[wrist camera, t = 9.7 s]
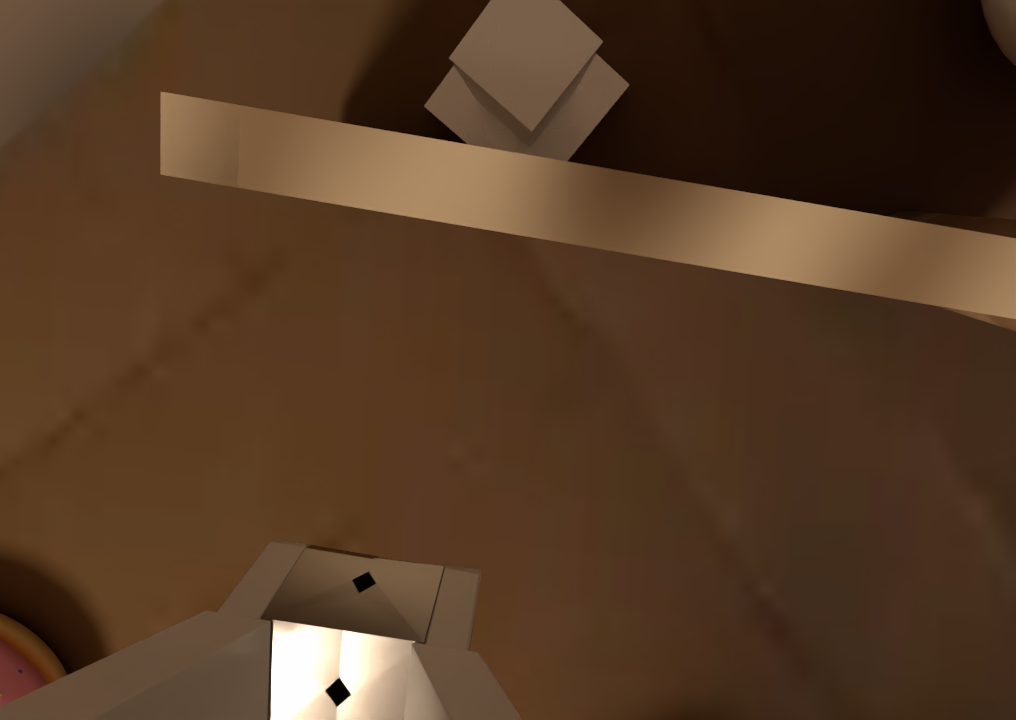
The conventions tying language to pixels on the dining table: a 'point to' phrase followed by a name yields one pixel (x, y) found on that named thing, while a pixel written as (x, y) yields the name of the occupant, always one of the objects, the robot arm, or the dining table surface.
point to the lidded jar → (1002, 24)
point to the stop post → (527, 81)
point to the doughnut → (24, 661)
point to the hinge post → (972, 224)
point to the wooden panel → (586, 205)
